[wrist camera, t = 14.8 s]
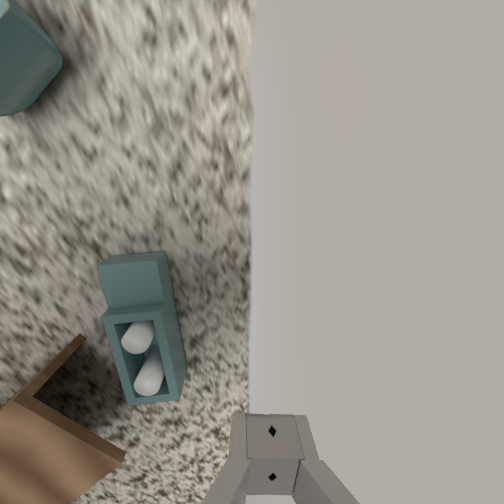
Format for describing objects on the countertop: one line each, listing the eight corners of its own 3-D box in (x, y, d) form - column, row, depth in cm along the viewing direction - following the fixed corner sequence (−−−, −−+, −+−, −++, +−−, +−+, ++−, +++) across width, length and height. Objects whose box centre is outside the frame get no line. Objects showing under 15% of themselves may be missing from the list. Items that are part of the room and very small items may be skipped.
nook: (83, 443, 35) (31, 534, 26) (8, 400, 32) (-81, 486, 23) (152, 385, 33) (121, 463, 24) (79, 333, 30) (12, 400, 21)
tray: (187, 367, 33) (178, 404, 27) (143, 372, 32) (125, 410, 27) (165, 250, 28) (149, 267, 22) (113, 255, 27) (83, 273, 22)
